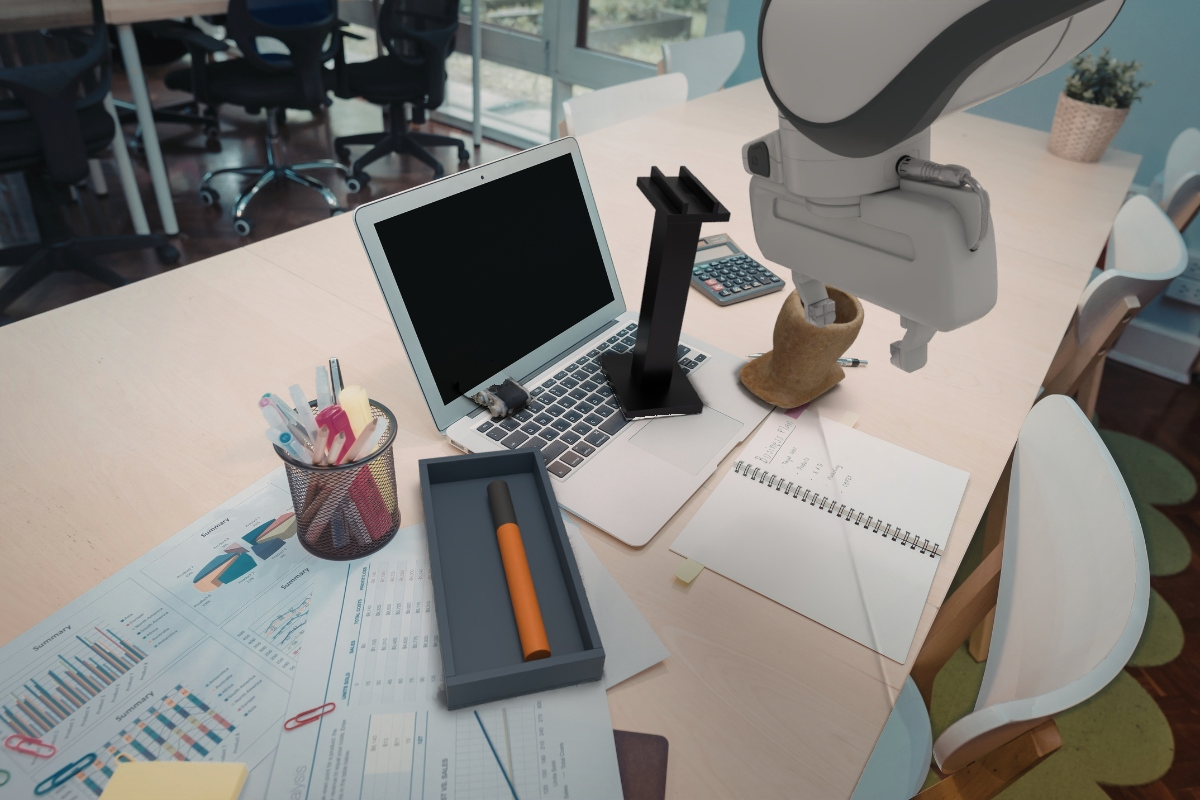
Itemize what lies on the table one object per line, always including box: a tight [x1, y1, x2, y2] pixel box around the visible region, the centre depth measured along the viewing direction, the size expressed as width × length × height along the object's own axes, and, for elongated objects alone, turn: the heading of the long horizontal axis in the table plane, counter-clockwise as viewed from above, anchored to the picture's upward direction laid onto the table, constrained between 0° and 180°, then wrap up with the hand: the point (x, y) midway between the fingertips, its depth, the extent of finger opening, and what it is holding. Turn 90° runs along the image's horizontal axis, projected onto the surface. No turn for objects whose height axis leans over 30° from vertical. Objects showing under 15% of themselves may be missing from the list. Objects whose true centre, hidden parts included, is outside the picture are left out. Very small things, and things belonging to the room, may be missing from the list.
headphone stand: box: [598, 165, 732, 418], centre depth 85 cm, size 12×10×27 cm
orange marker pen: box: [487, 480, 551, 662], centre depth 67 cm, size 20×2×2 cm
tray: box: [417, 445, 607, 711], centre depth 67 cm, size 26×13×4 cm, turn 16°
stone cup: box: [738, 284, 865, 409], centre depth 92 cm, size 15×12×15 cm
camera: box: [471, 375, 533, 418], centre depth 88 cm, size 5×10×4 cm, turn 46°
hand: (861, 343), depth 53 cm, fingers open, 8 cm apart
